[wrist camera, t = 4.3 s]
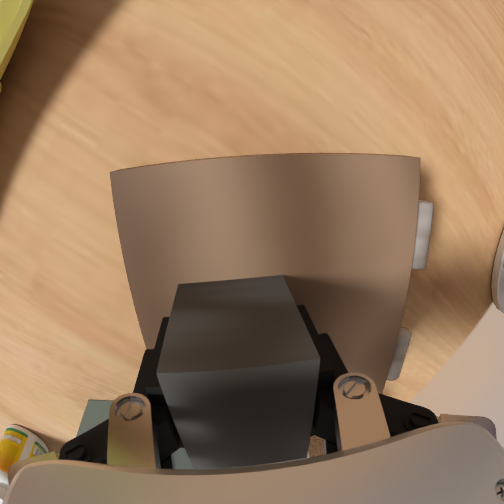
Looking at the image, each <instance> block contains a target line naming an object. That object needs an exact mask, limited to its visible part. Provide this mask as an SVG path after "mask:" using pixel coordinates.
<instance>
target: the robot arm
mask: <svg viewBox="0 0 504 504" xmlns="http://www.w3.org/2000/svg"><path fill="white" fill-rule="evenodd" d="M491 288H492V298H493V302H494V304H495V306H496V307H497V308H498V309H499V310H501V312H503V313H504V230H503V233H502V235H501V238H500V241H499V245H498V248H497V252H496V256H495V261H494V266H493V272H492V285H491ZM296 306H297V308H298V310H299V312H300V314H301V316H302V319H303V321H304V323H305V325H306V328H307V330H308V332H309V334H310V336H311V339H312V341H313V343H314V345H315V348H316V350H317V352H318V354H319V356H320V366H319V375H318V384H317V392H316V400H315V408H314V415H313V422H312V429H311V435H310V436H313V435H316V436H318V437H320V438H323V446H324V455H321V456H317V457H311V458H306V459H301V460H295V461H289V462H282V463H275V464H267V465H259V466H249V467H238V468H222V469H176V466H175V460H174V455H173V453H174V452H175V451H177V450H178V449H179V448H184V445H183V443H182V441H181V438H180V436H179V433H178V431H177V429H176V426H175V424H174V421H173V418H172V416H171V413H170V411H169V408H168V405H167V403H166V400H165V397H164V394H163V391H162V389H161V386H160V383H159V380H158V377H157V374H156V372H157V367H158V363H159V359H160V354H161V350H162V346H163V342H164V338H165V333H166V329H167V325H168V321H169V318H170V317H163V319H162V322H161V326H160V329H159V333H158V336H157V340H156V344H155V347H154V349H147V350H146V351H145V353H144V356H143V360H142V363H141V367H140V370H139V373H138V377H137V381H136V384H135V388H134V391H133V393H128V394H124V395H121V396H119V397H118V398H116V399H115V400H114V401H113V403H112V404H111V406H110V410H109V419H107V420H105V421H104V422H102V423H100V424H99V425H97V426H95V427H93V428H92V429H90V430H88V431H86V432H85V433H83V434H81V435H79V436H77V437H76V438H74V439H72V440H70V441H68V442H67V443H66V444H64V446H63V447H62V448H61V450H60V453H56V452H55V451H52V452H49V453H46V454H43V455H39V456H36V457H32V458H29V459H25V460H21V461H17V462H15V463H13V464H12V465H11V466H10V467H9V470H8V476H7V477H8V483H9V487H8V490H7V492H6V494H5V497H4V499H3V502H2V504H504V448H503V447H502V446H501V445H500V443H499V442H498V441H497V439H496V428H495V425H494V423H493V422H492V421H491V420H490V419H488V418H486V417H480V416H462V415H449V414H441V415H440V417H438V416H436V415H435V414H434V413H433V412H432V411H430V410H429V409H427V408H424V407H421V406H418V405H414V404H411V403H408V402H404V401H401V400H398V399H395V398H392V397H389V396H386V395H383V394H380V393H378V391H377V388H376V385H375V383H374V381H373V380H372V379H371V378H370V377H368V376H366V375H365V374H361V373H349V372H348V371H347V369H346V367H345V365H344V363H343V361H342V359H341V357H340V355H339V353H338V352H337V350H336V348H335V346H334V344H333V342H332V340H331V338H330V337H329V335H328V334H327V333H322V334H318V332H317V330H316V328H315V326H314V324H313V322H312V320H311V318H310V316H309V314H308V312H307V310H306V308H305V306H304V305H296Z"/></svg>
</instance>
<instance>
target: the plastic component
mask: <svg viewBox="0 0 504 504" xmlns="http://www.w3.org/2000/svg"><path fill="white" fill-rule="evenodd" d="M33 1H34V0H0V80H1V78H2V75H3V73H4V71H5V69H6V67H7V65H8V63H9V61H10V58H11V56H12V54H13V52H14V50H15V47H16V45H17V43H18V40H19V38H20V36H21V33H22V31H23V28H24V26H25V23H26V21H27V18H28V15H29V13H30V10H31V7H32V4H33ZM1 90H2V85H1V82H0V93H1Z"/></svg>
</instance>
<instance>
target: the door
mask: <svg viewBox="0 0 504 504" xmlns="http://www.w3.org/2000/svg"><path fill="white" fill-rule="evenodd" d="M110 179H111V187H112V194H113V201H114V208H115V215H116V221H117V227H118V232H119V238H120V243H121V249H122V254H123V258H124V263H125V268H126V273H127V277H128V281H129V286H130V290H131V294H132V298H133V302H134V306H135V310H136V314H137V317H138V321H139V325H140V328H141V332H142V335H143V339H144V342H145V345H146V349H154V347H155V344H156V340H157V336H158V333H159V329H160V326H161V322H162V319H163V317H170V318H169V321H168V325H167V329H166V333H165V338H164V342H163V346H162V350H161V354H160V359H159V363H158V367H157V372H156V374H157V377H158V380H159V383H160V386H161V389H162V391H163V394H164V397H165V400H166V403H167V405H168V408H169V411H170V413H171V416H172V418H173V421H174V424H175V426H176V429H177V431H178V433H179V436H180V438H181V441H182V443H183V445H184V448H185V450H186V452H187V455H188V457H189V459H190V461H191V463H192V466H193V468H194V469H207V468H229V467H243V466H253V465H262V464H271V463H278V462H285V461H291V460H297V459H303V458H307V454H308V448H309V442H310V435H311V429H312V422H313V415H314V408H315V400H316V392H317V384H318V375H319V366H320V356H319V354H318V352H317V350H316V348H315V345H314V343H313V341H312V339H311V336H310V334H309V332H308V330H307V328H306V325H305V323H304V321H303V319H302V316H301V314H300V312H299V310H298V308H297V306H296V305H304V306H305V308H306V310H307V312H308V314H309V316H310V318H311V320H312V322H313V324H314V326H315V328H316V330H317V332H318V334H322V333H327V334H328V335H329V337H330V338H331V340H332V342H333V344H334V346H335V348H336V350H337V352H338V353H339V355H340V357H341V359H342V361H343V363H344V365H345V367H346V369H347V371H348V372H349V373H361V374H365V375H366V376H368V377H370V378H371V379H372V380H373V381H374V383H375V385H376V388H377V391H378V393H380V394H382V392H383V389H384V386H385V382H386V380H389V381H393V380H396V379H397V378H398V377H399V375H400V372H401V369H402V365H403V362H404V359H405V356H406V352H407V349H408V345H409V341H410V338H411V332H410V331H409V330H408V329H406V328H403V327H400V326H401V322H402V317H403V312H404V308H405V302H406V297H407V292H408V286H409V280H410V274H411V268H412V269H423V268H425V267H426V262H427V255H428V248H429V241H430V233H431V224H432V214H433V203H432V202H430V201H426V200H419V187H420V158H418V157H411V156H402V155H385V154H359V153H289V154H263V155H245V156H230V157H217V158H206V159H196V160H186V161H177V162H169V163H161V164H153V165H146V166H139V167H133V168H126V169H120V170H116V171H113V172H110Z"/></svg>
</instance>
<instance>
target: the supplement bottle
mask: <svg viewBox="0 0 504 504" xmlns="http://www.w3.org/2000/svg"><path fill="white" fill-rule="evenodd" d="M46 453H48V448H47V446H46V444H45V443H44V442H43V441H42V440H41V439H40V438H39V437H38V436H36V435H35V434H34V433H32V432H31V431H29V430H27V429H25V428H23V427H21V426H18V425H9V426H8V427H7V429H6V431H5V433H4V435H3V437H2V439H1V442H0V504H2V502H3V499H4V497H5V494H6V492H7V490H8V487H9V483H8V477H7V476H8V470H9V467H10V466H11V465H12V464H13V463H15V462H17V461H21V460H25V459H29V458H32V457H36V456H39V455H43V454H46Z"/></svg>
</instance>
